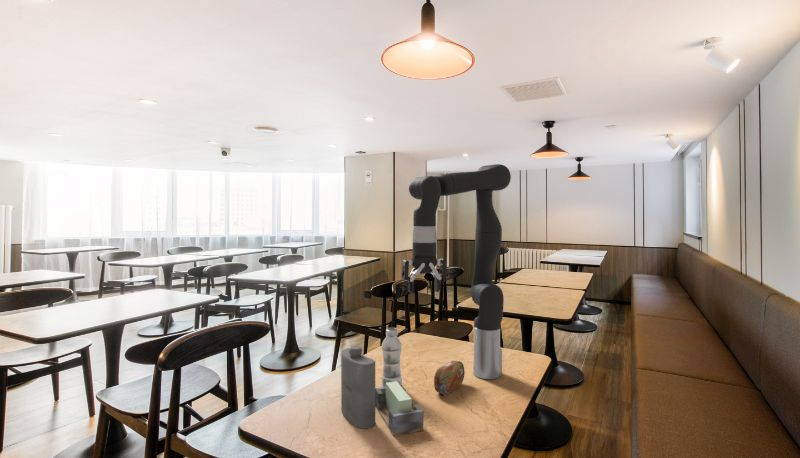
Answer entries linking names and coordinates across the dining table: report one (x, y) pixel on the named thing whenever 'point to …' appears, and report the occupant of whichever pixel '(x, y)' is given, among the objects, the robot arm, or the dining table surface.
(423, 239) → the robot arm
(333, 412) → the dining table surface
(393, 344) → the plastic bottle
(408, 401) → the slat
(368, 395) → the flask
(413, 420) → the cradle
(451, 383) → the tin
